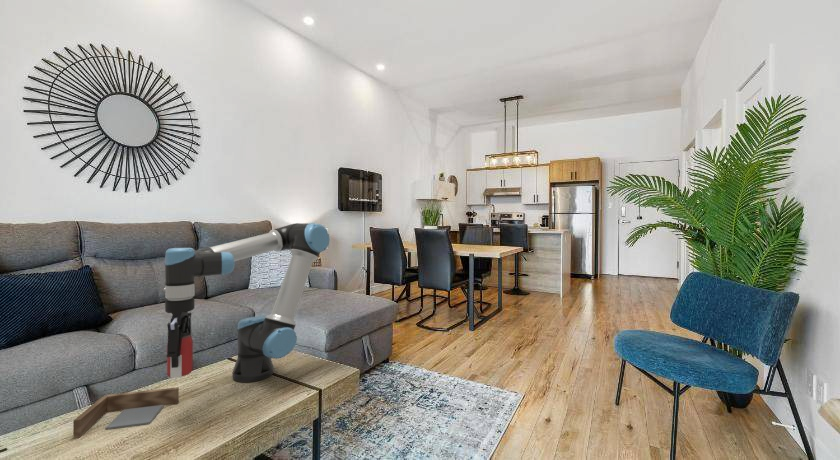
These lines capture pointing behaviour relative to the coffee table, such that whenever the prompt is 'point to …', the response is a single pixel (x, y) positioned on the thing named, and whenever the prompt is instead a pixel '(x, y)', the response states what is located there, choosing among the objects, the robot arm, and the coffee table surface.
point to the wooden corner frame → (123, 406)
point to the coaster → (135, 417)
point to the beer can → (184, 355)
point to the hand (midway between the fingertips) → (180, 372)
